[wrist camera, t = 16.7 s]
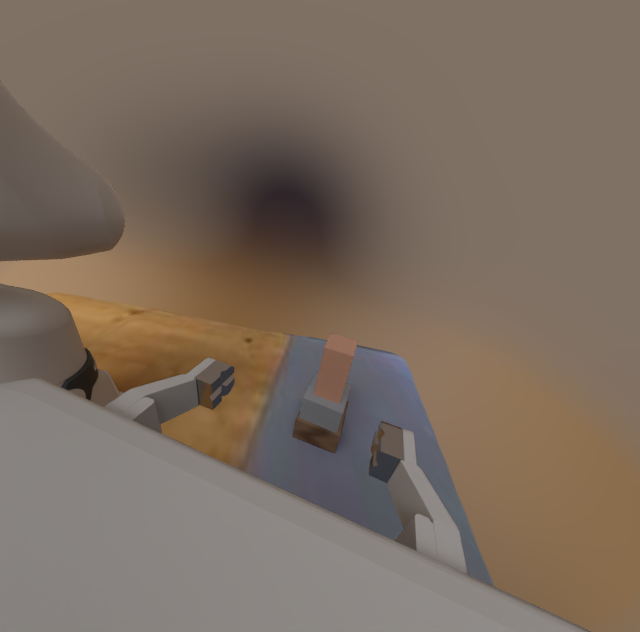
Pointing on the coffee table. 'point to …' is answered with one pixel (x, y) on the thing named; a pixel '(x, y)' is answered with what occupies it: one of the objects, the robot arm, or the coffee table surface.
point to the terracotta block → (335, 367)
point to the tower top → (323, 408)
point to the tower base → (318, 433)
